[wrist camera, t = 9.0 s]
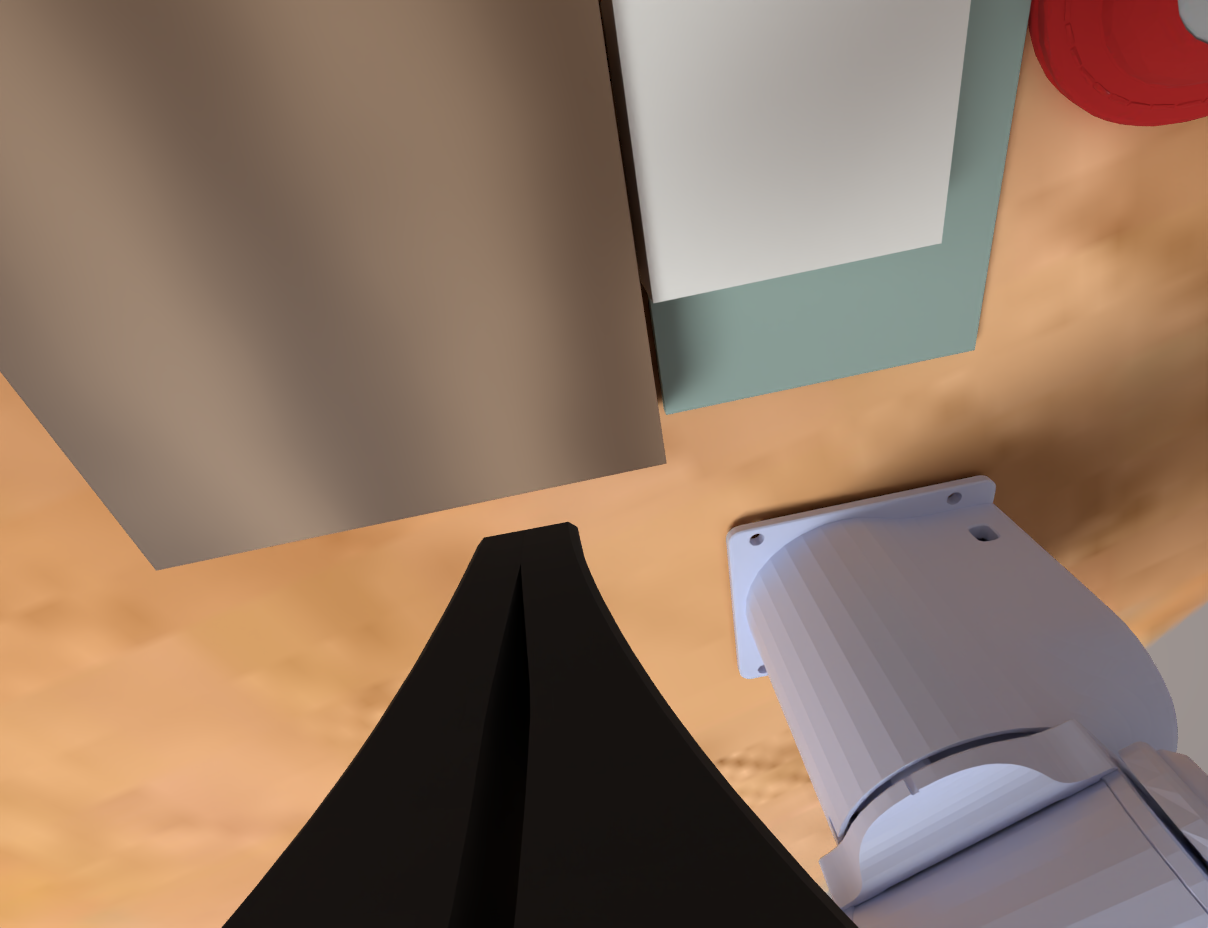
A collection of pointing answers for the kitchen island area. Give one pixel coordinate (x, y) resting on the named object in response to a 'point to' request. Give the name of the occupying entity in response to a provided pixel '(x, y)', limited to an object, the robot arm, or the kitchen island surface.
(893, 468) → the kitchen island surface
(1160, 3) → the tracker holder
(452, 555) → the kitchen island surface
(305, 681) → the kitchen island surface
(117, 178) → the board
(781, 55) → the tile
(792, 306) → the mat
